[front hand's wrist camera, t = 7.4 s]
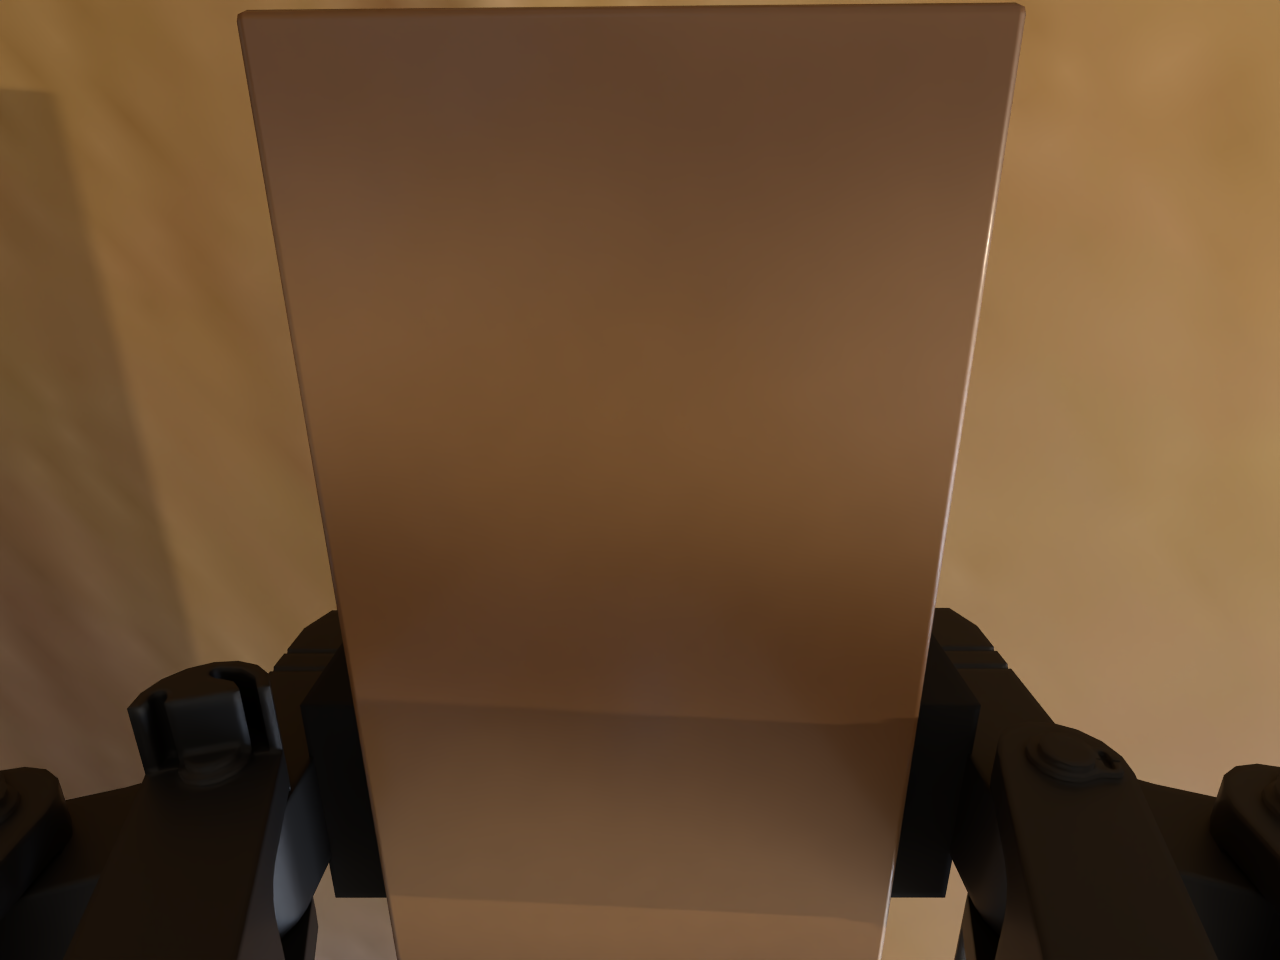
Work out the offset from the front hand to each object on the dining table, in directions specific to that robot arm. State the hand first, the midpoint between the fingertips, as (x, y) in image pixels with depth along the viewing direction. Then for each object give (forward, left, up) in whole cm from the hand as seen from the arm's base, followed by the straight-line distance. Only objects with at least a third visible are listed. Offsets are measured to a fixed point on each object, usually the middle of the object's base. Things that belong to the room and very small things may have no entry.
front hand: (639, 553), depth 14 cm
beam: (+8, -24, -1) cm, 26 cm away
